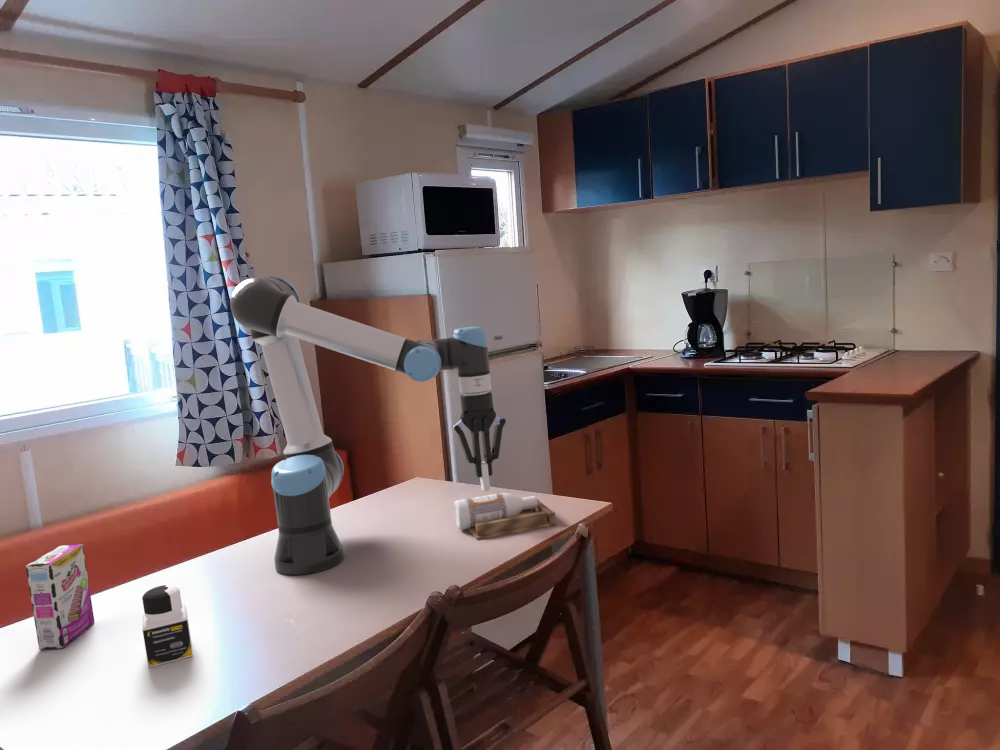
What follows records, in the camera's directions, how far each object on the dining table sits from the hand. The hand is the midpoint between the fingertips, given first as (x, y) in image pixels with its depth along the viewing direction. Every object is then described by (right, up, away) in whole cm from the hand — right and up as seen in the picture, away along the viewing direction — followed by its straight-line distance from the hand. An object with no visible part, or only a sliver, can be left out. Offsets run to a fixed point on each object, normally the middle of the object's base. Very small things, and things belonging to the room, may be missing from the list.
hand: (485, 489), depth 191 cm
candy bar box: (-79, -23, -39) cm, 91 cm away
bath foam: (-7, -6, 0) cm, 10 cm away
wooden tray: (+5, -9, +2) cm, 10 cm away
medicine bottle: (-54, -22, -51) cm, 78 cm away
